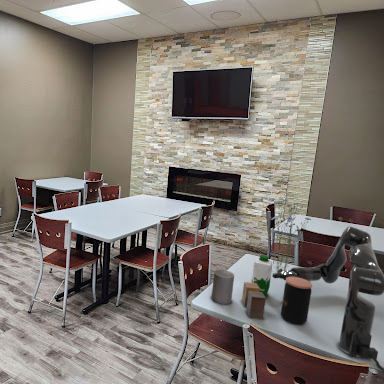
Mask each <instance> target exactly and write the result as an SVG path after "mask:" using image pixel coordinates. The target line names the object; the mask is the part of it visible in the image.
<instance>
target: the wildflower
mask: <svg viewBox="0 0 384 384" xmlns="http://www.w3.org/2000/svg"><path fill="white" fill-rule="evenodd" d="M280 201H281V199H279V200H277V201H276V203H277V204H278V209H279V212H280V213H278V217H279V219H280V220H276V216H274V217H272V218H271V219H270V220H271V221H273V220H275V225H276V226H277V231H276V235H277V236H276V238H275V239H276V242H278V244H275V248H277V246H278V248H277V249H278V250H280V249H281V248H282V251H277V250H274V251H275V252H274V254H273V260H272V266H274V264H275V263H276V265H275V270H276V272H277V271H278V270H279V269H280V267H282V264H284V266H283V271H286V270H287V266H289V261H290V259H289V258H290V257H289V255H290V250H291V249H290V248H291V245H292V240H291V239H292V238H293V237H294V234H296V233H297V232H299V230H300V229H299V225H297V224H296V223H293V222H294V221H295V220H296V216H297V215H298V214H299V213H300V211H301V210H302V209H303V207H304V206H303V205H301V206H299V208H300V209H297V210H296V206H298V205H299V202H297V203H293V205H292V203H289V204H287V203H288V202H289V200H288V199H287V198H285V200H284V199H283V200H282V202H281V203H280ZM284 201H285V202H284ZM283 202H284V205H283ZM286 204H287V205H286ZM285 206H287V207H288V208H289V209H288V212H289V216H287V217H286V219H285V216H283V220H282V216H281V215H282V214H283V210H284V209H285ZM281 207H282V208H281ZM280 208H281V209H280ZM292 215H293V216H292ZM304 219H305V220H304V221H303V222H300V225H301V227H302V230H301V233H302V235H301V241H300V242H301V243H300V252H299V253H300V254H299V255H302V250H303V246H302V245H303V236H304V233H305V232H304V231H305V230H306V228H307V226H306V225H304V224H308V223H309V221H312V219H311V218H310V217H305V218H304ZM306 220H307V221H306ZM282 223H283V224H282ZM280 224H281V227H280ZM295 225H296V226H295ZM293 226H295V227H296V228H295V229H294V233H292V232H293V231H292V230H293ZM280 228H281V229H280ZM286 228H287V230H286ZM280 230H281V231H280ZM283 231H284V233H286V232H287V233H286V238H285V235H281V234H282V233H283ZM280 235H281V236H280ZM282 237H283V239H284V241H282V243H284V244H281V240H280V239H281V238H282ZM287 244H288V246H287V247H286V245H287ZM285 249H286V250H287V253H286V252H285ZM280 254H281V256H279V255H280ZM285 255H286V256H285ZM276 256H277V259H276ZM284 258H285V261H284ZM283 261H284V262H283ZM300 264H301V259H299V261H298V265H297V268H299V267H300Z"/></svg>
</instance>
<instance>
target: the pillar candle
mask: <svg viewBox="0 0 384 384" xmlns="http://www.w3.org/2000/svg"><path fill="white" fill-rule="evenodd" d="M234 282H235V273H234V272H232V271H229V270H226V269H216V270H214V272H213V281H212V289H211V300H212V301H214V302H215V303H217V304H221V305H229V304H231V303H232V298H233V291H234Z"/></svg>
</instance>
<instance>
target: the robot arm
mask: <svg viewBox="0 0 384 384" xmlns="http://www.w3.org/2000/svg"><path fill="white" fill-rule="evenodd" d="M345 246H348V247H349V248H350V247H351V248H350V250H349V252H348V257H349V262H350V264H351V265H352V267H351V269H350V272H349V279H348V288H347V294H346V295H347V296H346V302H345V307H344V312H343V317H342V324H341V329H340V334H339V335H340V336H339V342H338V345H337V346H338V349H339V350H341V351H342V352H343V353H345V354H346V355H348V356H349V357H350V358H351V357H352V358H360V359H367V360H369V359H370V360H372V361H374V363H375V365H376V366H377V367H378V368H379V369H380V370H381V371H382V372H384V368H383V367H382V365H381V364H380V363H379V361H378V359H377V358H378V354H379V351H378V350H377V349H376V348H375V347H371V343H372V338H373V336H372V330H373V324H374V320H375V316H376V315H375V314H376V305H375V304H374V303H373V302H372V301H370V300H368V299H366V298H365V297H363V296H361V295H360V294H359V293H361V294H365V295H368V296H369V295H370V296H375V297H378V296H382V295H383V294H384V272H383V270H382V269H381V268H380V266H379V264H378V260H377V257H376V254H375V251H374V249H373V244H372V236H371V234H370V233H368V232H367V231H365V230H362V229H360V228H356V227H354V226H347V227H346V228H344V230H343V232H342V233H341V235H340V237H339V239H338V242H337V243H336V245H335V248H334V249H333V252H332V254H331V255H330V256H329V257H328V259H327V261H326V263H321V264H319V265H317V266H314V267H313V266H312V267H306V266H304V267H303V266H301V267H300V266H299V267H291V268H290V269H286V270H285V271H284V269H283V268H279V270H278V271H277V270H276V272H275V273H274V272H272V274H271V278H272V279H281V280H283V281H286V278H287V277H298V278H302V279H305V280H307V281H309V282H317V281H320V280H321V279H322V280H323V282H324V283H326V284H330V285H331V284H334V283H336V282H337V280H338V279H339V277H340V273H341V270H342V268H343V267H344V266H345V264H346V262H347V253H346V249H345Z"/></svg>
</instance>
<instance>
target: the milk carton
mask: <svg viewBox="0 0 384 384" xmlns="http://www.w3.org/2000/svg"><path fill="white" fill-rule="evenodd" d="M252 267H253V269H252V275H251V283H257V285H258V286H259V288H260V291H259V292H262V293H263V294H264V296H265V298H266V299H267V296H268V293H269V289H270V286H271V281H272V280H271V279H272V273H273V272H272V270H273V260H271V259H269V256H268V255H264V254H261V255H259V257H256V258H255V260H254V262H253V266H252Z"/></svg>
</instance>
